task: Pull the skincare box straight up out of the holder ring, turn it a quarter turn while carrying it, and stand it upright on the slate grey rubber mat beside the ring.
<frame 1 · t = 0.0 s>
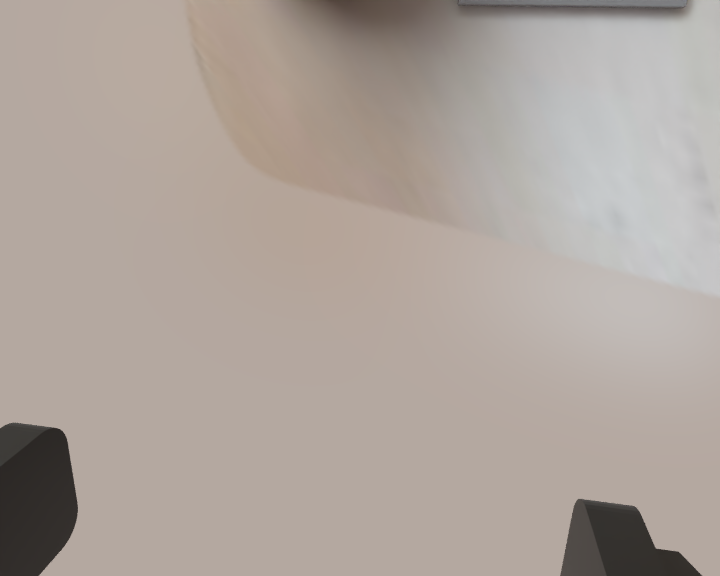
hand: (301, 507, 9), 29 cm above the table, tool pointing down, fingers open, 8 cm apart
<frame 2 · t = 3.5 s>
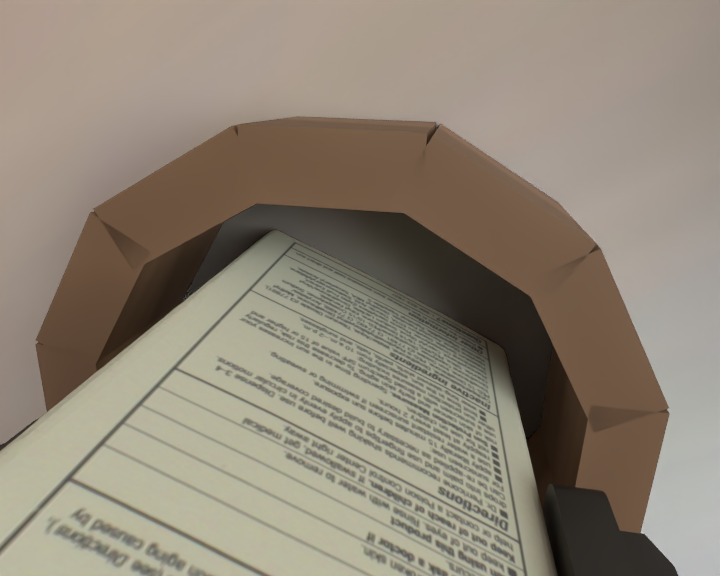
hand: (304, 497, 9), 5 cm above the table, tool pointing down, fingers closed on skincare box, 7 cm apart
holder ring: (357, 362, 14), on the table
skincare box: (358, 357, 14), resting in holder ring, touching gripper
when the fingers open (7 cm above the table, at t = 10.4 s): skincare box drops 1 cm, resting on mat.
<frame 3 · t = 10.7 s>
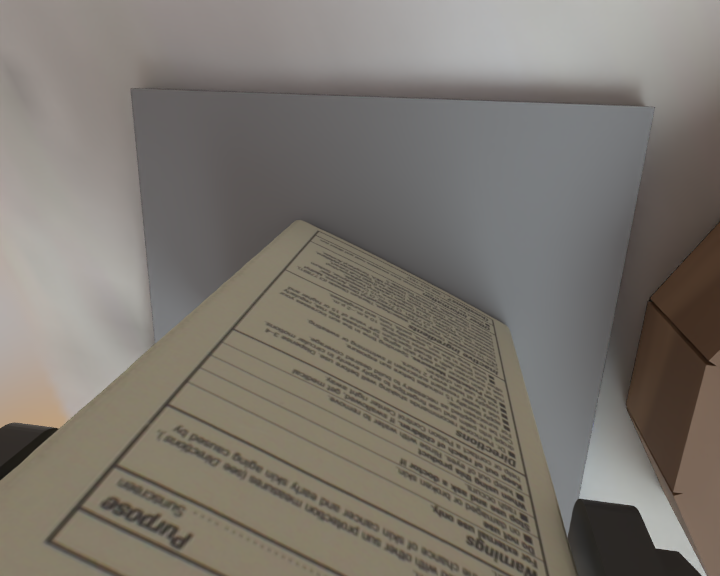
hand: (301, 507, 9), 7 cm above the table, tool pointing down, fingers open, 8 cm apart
skincare box: (375, 337, 15), resting on mat
mat: (369, 329, 15), on the table
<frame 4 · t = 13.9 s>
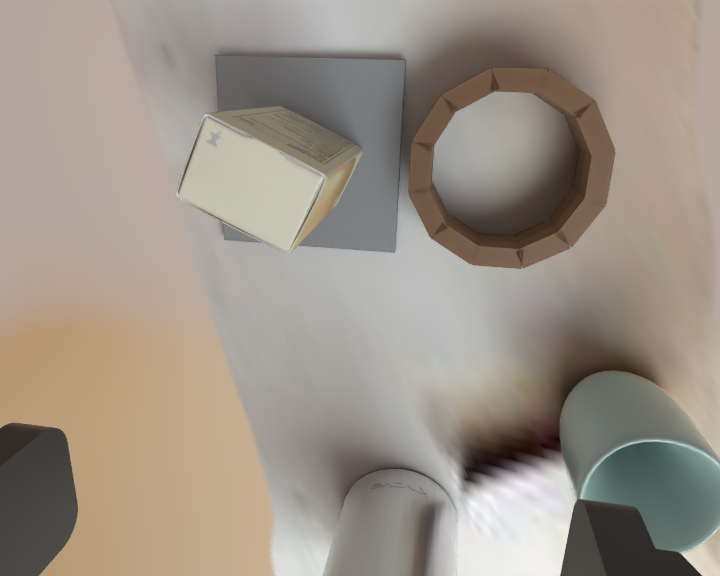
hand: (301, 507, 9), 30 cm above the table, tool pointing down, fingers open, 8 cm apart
cup: (607, 403, 40), on the table
holder ring: (503, 165, 35), on the table
skincare box: (311, 157, 37), resting on mat
mat: (309, 155, 37), on the table
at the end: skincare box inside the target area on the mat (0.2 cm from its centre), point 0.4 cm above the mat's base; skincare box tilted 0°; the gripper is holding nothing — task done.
